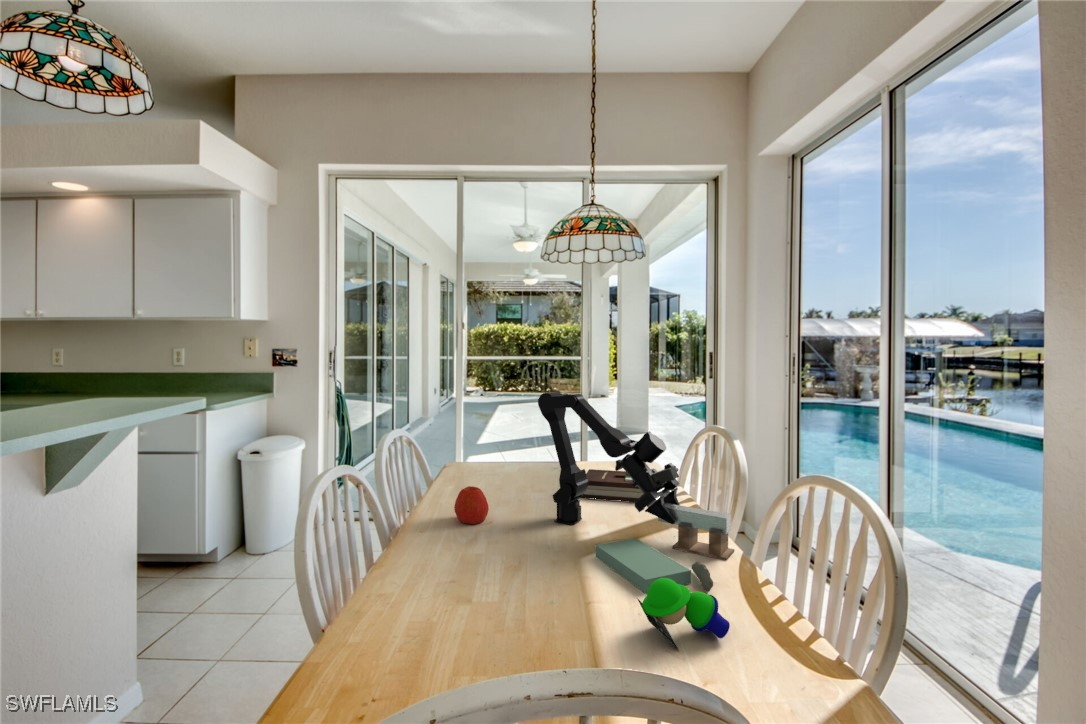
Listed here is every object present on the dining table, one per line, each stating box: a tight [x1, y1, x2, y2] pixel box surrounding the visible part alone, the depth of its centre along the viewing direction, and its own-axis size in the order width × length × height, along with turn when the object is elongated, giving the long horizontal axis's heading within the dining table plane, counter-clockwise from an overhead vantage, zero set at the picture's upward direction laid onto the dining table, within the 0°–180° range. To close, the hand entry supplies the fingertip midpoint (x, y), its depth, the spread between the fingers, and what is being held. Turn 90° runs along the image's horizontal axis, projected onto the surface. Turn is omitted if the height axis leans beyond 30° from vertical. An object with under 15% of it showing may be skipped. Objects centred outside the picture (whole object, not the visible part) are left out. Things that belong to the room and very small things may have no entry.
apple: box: [453, 485, 489, 525], centre depth 165 cm, size 10×10×10 cm
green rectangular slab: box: [595, 537, 692, 594], centre depth 130 cm, size 22×12×3 cm, turn 24°
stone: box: [690, 561, 714, 594], centre depth 123 cm, size 13×2×5 cm, turn 2°
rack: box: [671, 523, 735, 561], centre depth 142 cm, size 14×7×7 cm, turn 56°
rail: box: [657, 503, 732, 534], centre depth 144 cm, size 18×4×4 cm, turn 56°
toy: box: [636, 578, 730, 651], centre depth 101 cm, size 10×11×15 cm
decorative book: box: [582, 468, 644, 503], centre depth 194 cm, size 19×8×30 cm
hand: (678, 520), depth 146 cm, fingers open, 6 cm apart
